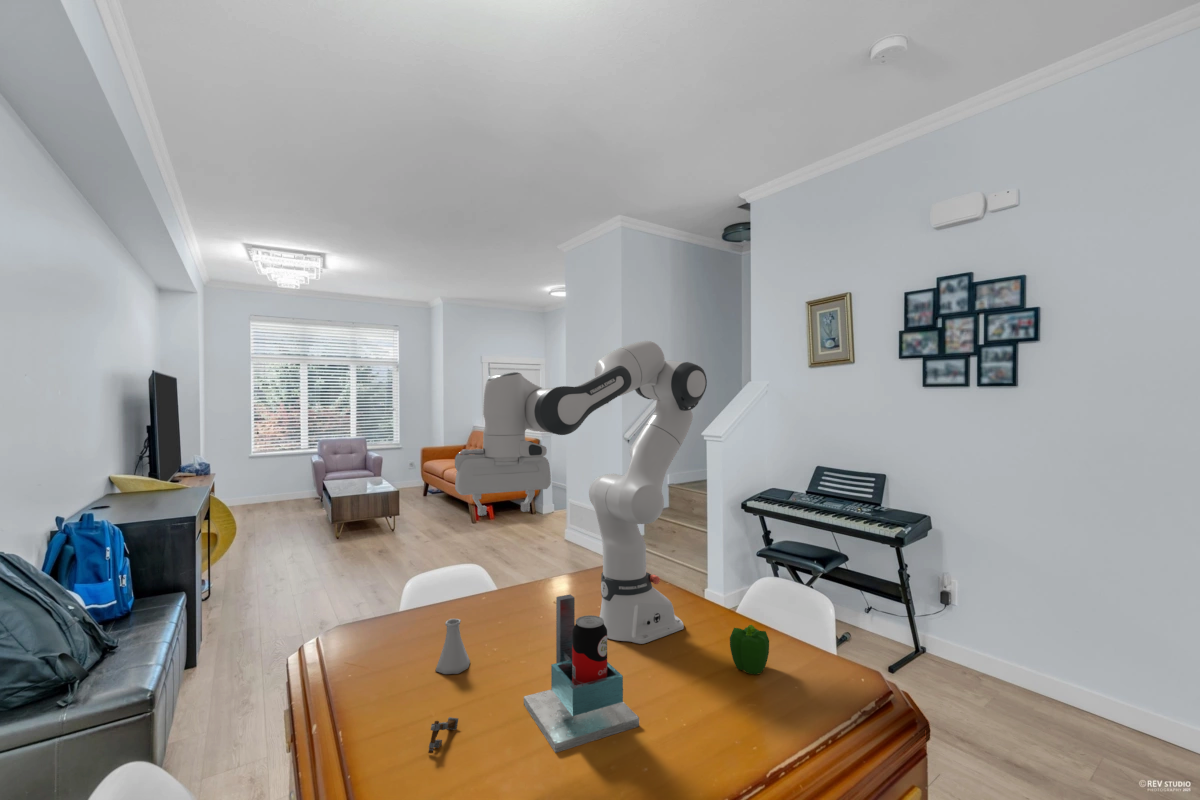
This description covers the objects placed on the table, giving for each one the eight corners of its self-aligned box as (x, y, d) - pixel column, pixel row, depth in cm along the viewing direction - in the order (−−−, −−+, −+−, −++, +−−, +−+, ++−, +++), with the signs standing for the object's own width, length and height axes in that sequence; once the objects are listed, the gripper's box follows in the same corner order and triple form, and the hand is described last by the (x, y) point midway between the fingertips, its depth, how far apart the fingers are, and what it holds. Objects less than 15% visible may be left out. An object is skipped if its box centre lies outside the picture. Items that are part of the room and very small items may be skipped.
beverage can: (577, 699, 92) (577, 630, 92) (568, 681, 98) (568, 616, 98) (612, 693, 94) (611, 625, 94) (601, 676, 100) (601, 612, 100)
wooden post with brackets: (422, 753, 85) (428, 721, 87) (444, 745, 93) (449, 715, 94) (432, 755, 85) (438, 722, 87) (453, 747, 92) (458, 717, 94)
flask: (460, 677, 111) (460, 629, 112) (429, 673, 113) (429, 626, 113) (475, 661, 118) (475, 616, 119) (446, 658, 120) (446, 613, 120)
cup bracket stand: (598, 684, 108) (598, 588, 109) (639, 726, 94) (638, 615, 94) (523, 704, 101) (523, 601, 101) (555, 752, 87) (555, 632, 87)
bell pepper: (731, 657, 120) (731, 613, 120) (769, 663, 117) (769, 617, 117) (727, 675, 112) (727, 627, 112) (768, 681, 109) (768, 632, 110)
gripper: (458, 450, 106) (457, 520, 106) (553, 447, 115) (553, 511, 115) (451, 448, 112) (451, 514, 111) (543, 445, 121) (543, 506, 121)
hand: (504, 513), depth 113 cm, fingers open, 8 cm apart
